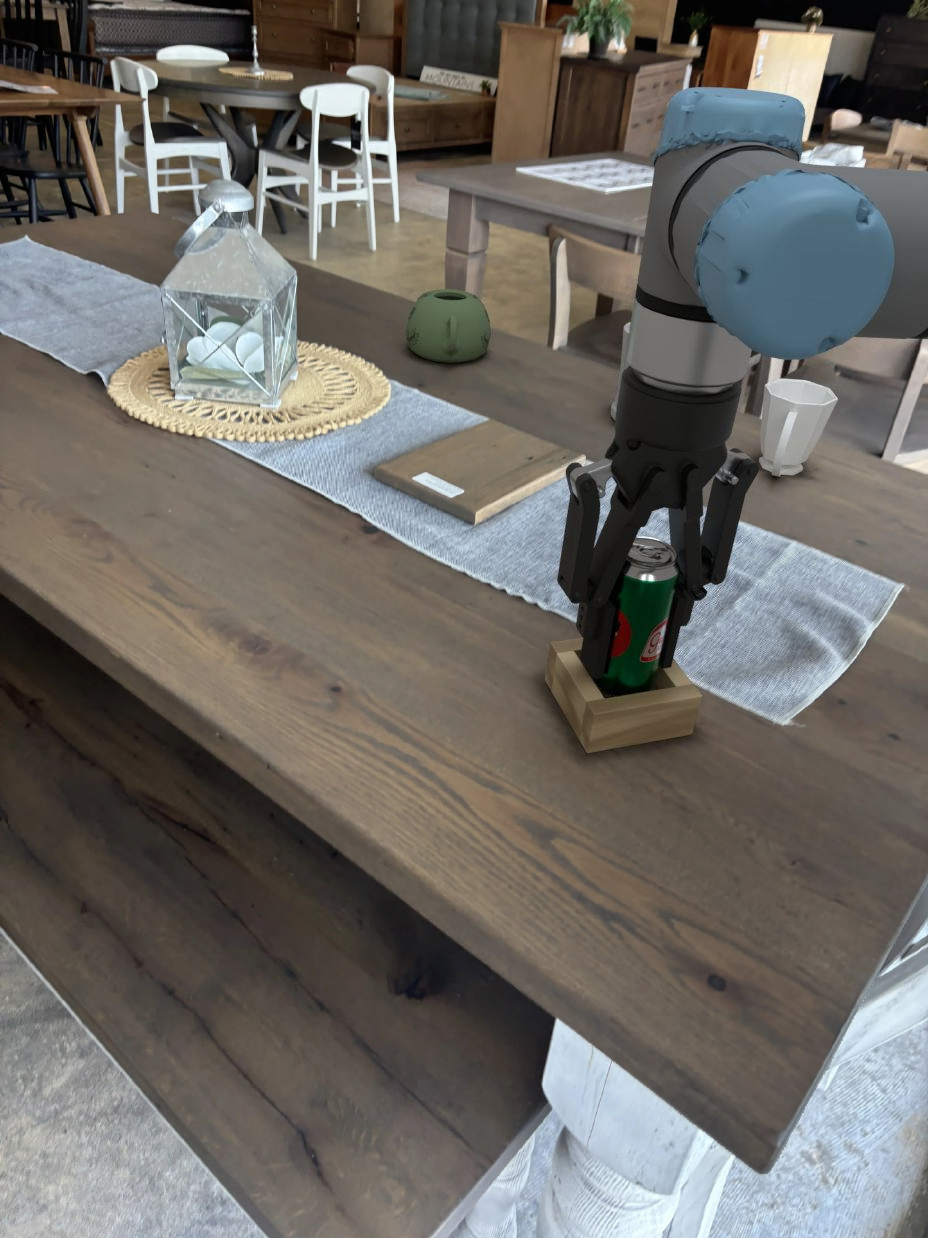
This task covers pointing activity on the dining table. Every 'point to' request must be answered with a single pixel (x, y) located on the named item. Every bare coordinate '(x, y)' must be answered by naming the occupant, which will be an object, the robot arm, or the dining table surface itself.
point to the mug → (448, 326)
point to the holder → (619, 703)
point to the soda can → (640, 617)
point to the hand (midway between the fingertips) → (625, 662)
